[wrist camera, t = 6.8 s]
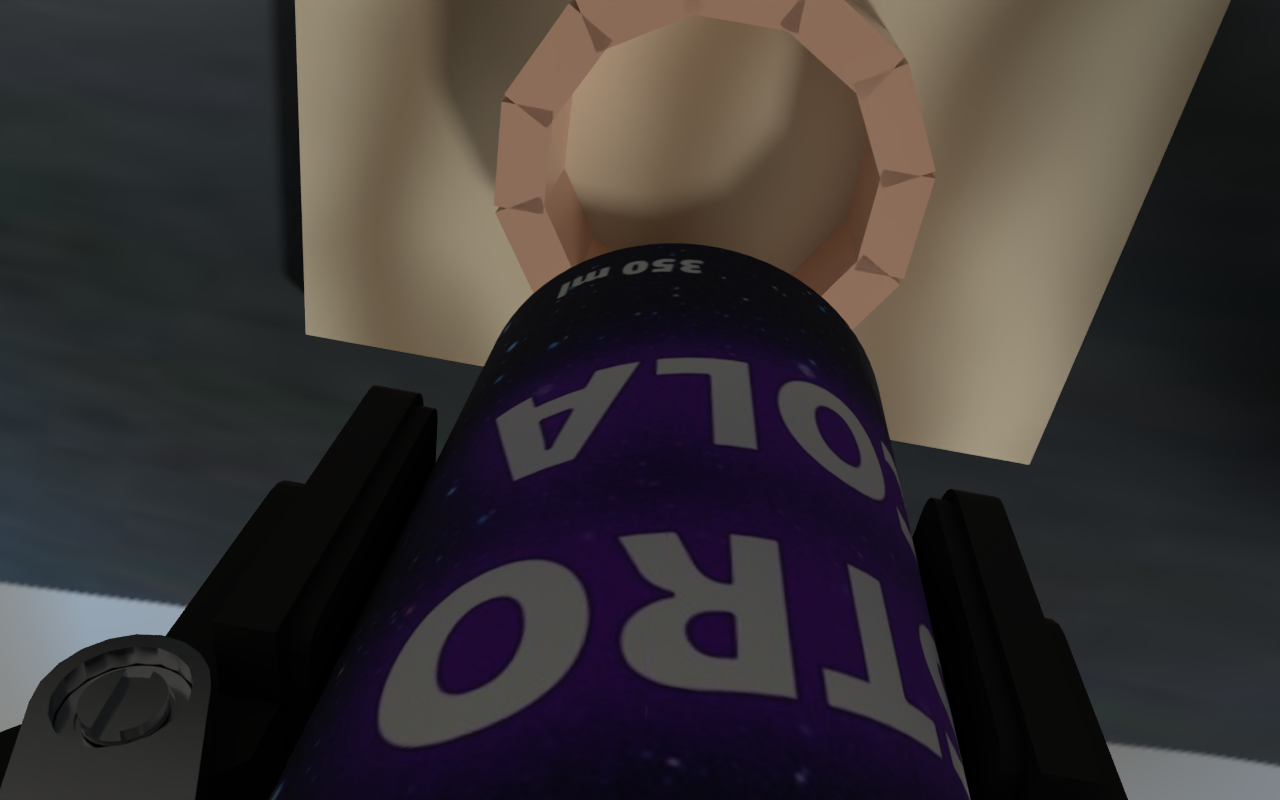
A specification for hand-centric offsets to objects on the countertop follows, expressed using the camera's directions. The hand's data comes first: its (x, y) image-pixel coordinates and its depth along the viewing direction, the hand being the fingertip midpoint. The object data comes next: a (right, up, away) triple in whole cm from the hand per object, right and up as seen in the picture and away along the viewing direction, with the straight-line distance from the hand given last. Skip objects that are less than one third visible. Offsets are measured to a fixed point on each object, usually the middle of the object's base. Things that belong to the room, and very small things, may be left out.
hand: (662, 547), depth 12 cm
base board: (+2, +9, +15) cm, 18 cm away
